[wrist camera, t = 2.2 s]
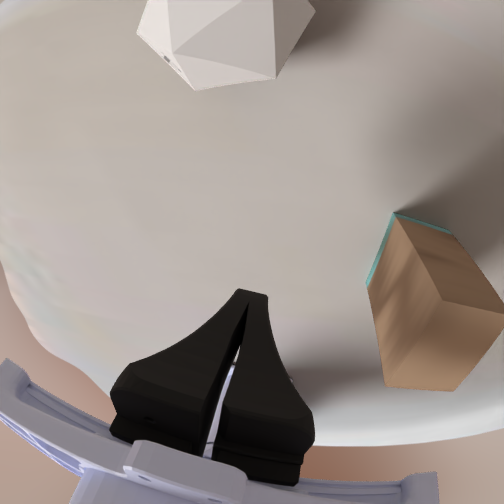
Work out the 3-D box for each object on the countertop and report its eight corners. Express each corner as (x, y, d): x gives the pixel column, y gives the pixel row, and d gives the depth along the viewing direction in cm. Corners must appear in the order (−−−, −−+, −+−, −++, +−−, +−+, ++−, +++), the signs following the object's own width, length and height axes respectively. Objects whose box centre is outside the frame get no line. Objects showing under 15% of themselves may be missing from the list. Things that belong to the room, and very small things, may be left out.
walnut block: (418, 294, 22) (453, 391, 13) (365, 282, 22) (384, 386, 14) (448, 230, 19) (511, 315, 10) (392, 212, 19) (442, 300, 11)
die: (180, -12, 14) (80, 48, 11) (269, -81, 8) (166, -73, 5) (250, 62, 19) (181, 143, 16) (350, 16, 13) (313, 85, 9)
